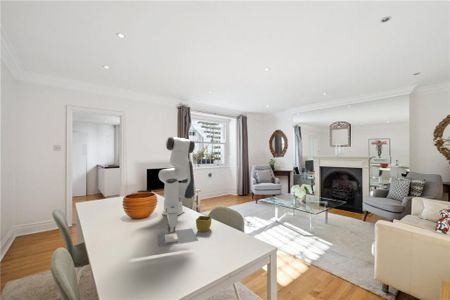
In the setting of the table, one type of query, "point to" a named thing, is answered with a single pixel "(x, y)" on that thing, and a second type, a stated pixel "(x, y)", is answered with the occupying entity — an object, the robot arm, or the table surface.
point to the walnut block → (169, 229)
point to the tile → (171, 238)
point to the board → (182, 235)
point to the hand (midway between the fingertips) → (171, 229)
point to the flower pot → (203, 223)
